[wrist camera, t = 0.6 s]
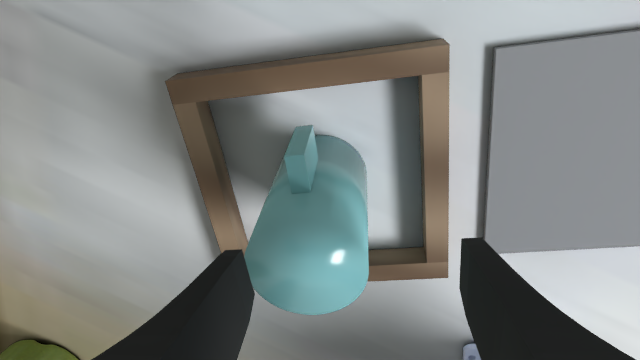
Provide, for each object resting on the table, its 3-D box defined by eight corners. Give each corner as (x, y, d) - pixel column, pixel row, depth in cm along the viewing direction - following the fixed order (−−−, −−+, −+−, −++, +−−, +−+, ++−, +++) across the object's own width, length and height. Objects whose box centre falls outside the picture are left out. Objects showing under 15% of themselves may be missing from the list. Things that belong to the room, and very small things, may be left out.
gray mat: (705, 237, 23) (710, 242, 22) (482, 250, 24) (484, 254, 24) (790, 10, 17) (799, 11, 17) (493, 47, 19) (496, 49, 18)
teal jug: (370, 209, 24) (373, 312, 17) (288, 214, 24) (258, 316, 18) (359, 99, 21) (357, 170, 14) (265, 110, 21) (218, 183, 14)
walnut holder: (443, 261, 25) (448, 277, 24) (238, 271, 27) (232, 287, 26) (443, 38, 19) (449, 44, 18) (177, 73, 21) (165, 81, 20)
